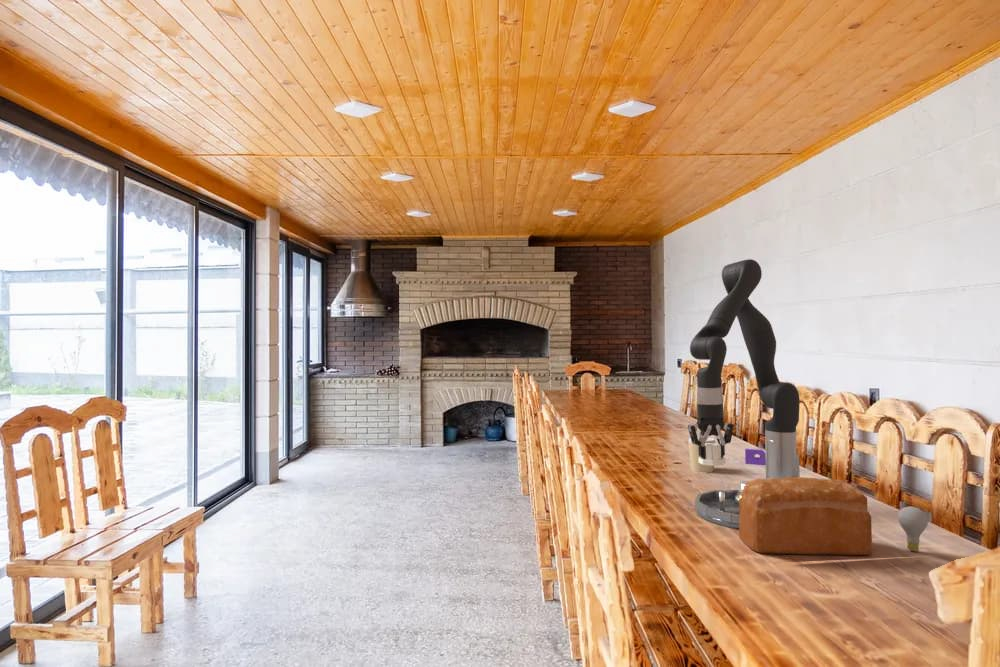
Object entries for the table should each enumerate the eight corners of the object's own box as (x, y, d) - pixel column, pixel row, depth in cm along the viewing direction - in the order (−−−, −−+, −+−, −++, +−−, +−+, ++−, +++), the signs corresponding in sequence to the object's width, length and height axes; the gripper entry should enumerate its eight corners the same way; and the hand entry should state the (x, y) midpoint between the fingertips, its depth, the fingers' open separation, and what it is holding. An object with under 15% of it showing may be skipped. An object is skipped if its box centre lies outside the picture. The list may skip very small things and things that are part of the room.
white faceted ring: (717, 459, 178) (717, 442, 178) (729, 464, 171) (728, 446, 171) (695, 461, 178) (694, 443, 178) (706, 466, 170) (705, 447, 171)
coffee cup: (719, 474, 203) (719, 441, 203) (693, 475, 203) (693, 441, 203) (710, 469, 212) (710, 436, 212) (685, 469, 212) (684, 436, 212)
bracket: (765, 469, 213) (765, 450, 213) (745, 467, 215) (745, 449, 216) (765, 462, 224) (765, 445, 224) (746, 461, 226) (746, 444, 226)
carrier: (768, 500, 171) (768, 476, 171) (828, 530, 144) (827, 502, 144) (680, 503, 168) (680, 479, 168) (724, 534, 141) (724, 505, 141)
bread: (734, 535, 141) (733, 471, 141) (844, 537, 139) (844, 472, 139) (755, 556, 127) (754, 485, 127) (878, 558, 125) (877, 486, 125)
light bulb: (929, 557, 125) (928, 511, 125) (899, 552, 128) (898, 508, 128) (927, 549, 130) (926, 505, 130) (897, 545, 133) (897, 502, 133)
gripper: (726, 399, 179) (728, 454, 179) (682, 401, 178) (684, 456, 177) (738, 402, 172) (740, 459, 171) (692, 404, 170) (694, 461, 170)
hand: (711, 457), depth 174 cm, fingers closed on white faceted ring, 5 cm apart
